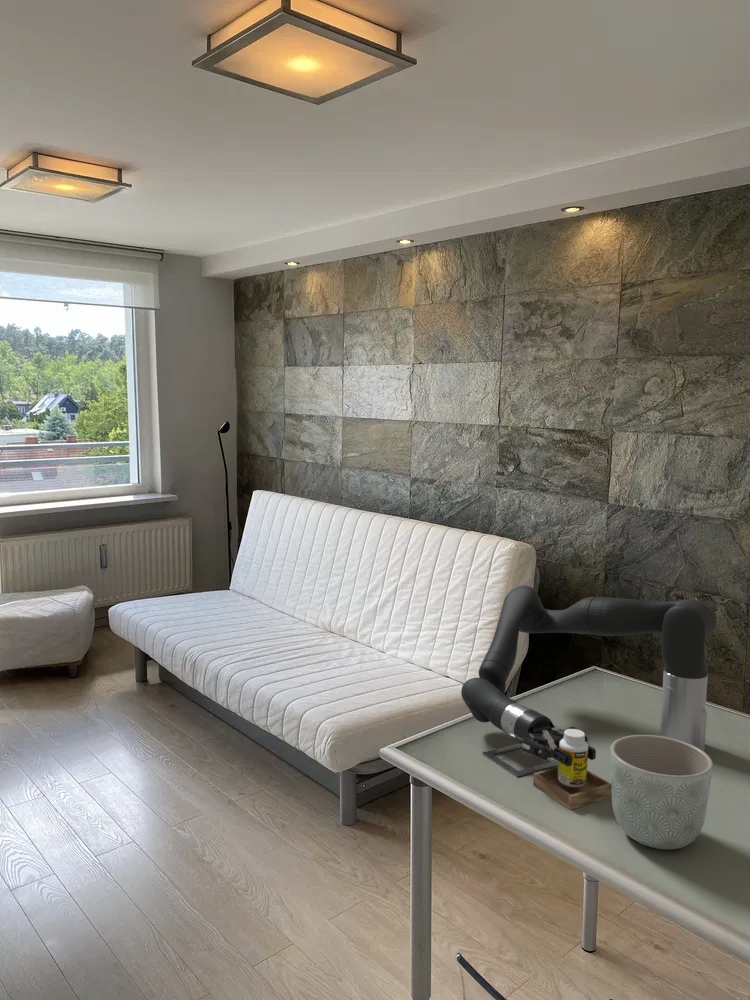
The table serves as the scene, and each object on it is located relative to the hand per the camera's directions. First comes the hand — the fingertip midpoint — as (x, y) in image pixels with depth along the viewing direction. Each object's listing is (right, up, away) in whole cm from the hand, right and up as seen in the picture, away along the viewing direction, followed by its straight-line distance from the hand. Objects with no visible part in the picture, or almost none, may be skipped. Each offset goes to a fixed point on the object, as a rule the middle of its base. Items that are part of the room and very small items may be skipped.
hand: (582, 758), depth 149 cm
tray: (-1, -8, +3) cm, 8 cm away
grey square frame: (-9, -6, +17) cm, 20 cm away
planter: (+10, -10, -13) cm, 19 cm away
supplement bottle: (-1, -6, +3) cm, 7 cm away
